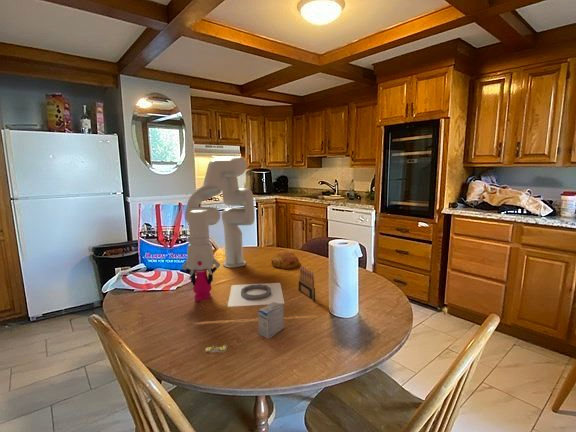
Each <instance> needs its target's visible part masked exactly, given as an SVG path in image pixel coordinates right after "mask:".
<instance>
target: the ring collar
mask: <svg viewBox="0 0 576 432" xmlns="http://www.w3.org/2000/svg"><path fill="white" fill-rule="evenodd" d="M257 284H258V285H250V286H246V287H244V288H243V289H241V296H242V297H243V298H245V299H249V300H261V299H264V298H267V297H269V296H270V295H271V288H270V287H268V286H267V285H260V284H261V283H257ZM252 289H262V290H266V291H267V292H266V293H264V294H260V295H250V294H246V293H245V292H247V291H249V290H252Z"/></svg>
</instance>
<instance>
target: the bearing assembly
mask: <svg viewBox="0 0 576 432" xmlns="http://www.w3.org/2000/svg"><path fill="white" fill-rule="evenodd" d="M227 350H228V345H227V344H223V345H222V346H219V344H216V345H210V346H207V347H205V349H204V351H205V353H207V352H208V353H213V354H214V353H215V352H217V353H223V354H224V353H225V352H226V351H227Z"/></svg>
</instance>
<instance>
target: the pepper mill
mask: <svg viewBox="0 0 576 432" xmlns="http://www.w3.org/2000/svg"><path fill="white" fill-rule="evenodd" d="M197 264H198V265H199V266H200V265H202V263H201V261H198V263H197ZM207 271H208V270H207V269H197V270H194V272H195V277H196V281H195V285H193V286H192V288H193V289H192V290H193V292H194V299H195V301H196V302H201V301H203V300H207V299H209V298H210V297H211V290H212V284H209V281H208V274H207Z"/></svg>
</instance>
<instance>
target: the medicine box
mask: <svg viewBox="0 0 576 432" xmlns="http://www.w3.org/2000/svg"><path fill="white" fill-rule="evenodd" d="M284 316H285V306H284V304H279V303H276V302H273V303H271V304H269V305H264V307H262V308H259V309H258V311H257V318H258V322H257V323H258V324H257V326H258V335H260V336H262V337H263V338H265V339H270V338H271V337H273V336H274V335H277V333H280V331H283V330H284V329H285V317H284Z"/></svg>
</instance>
